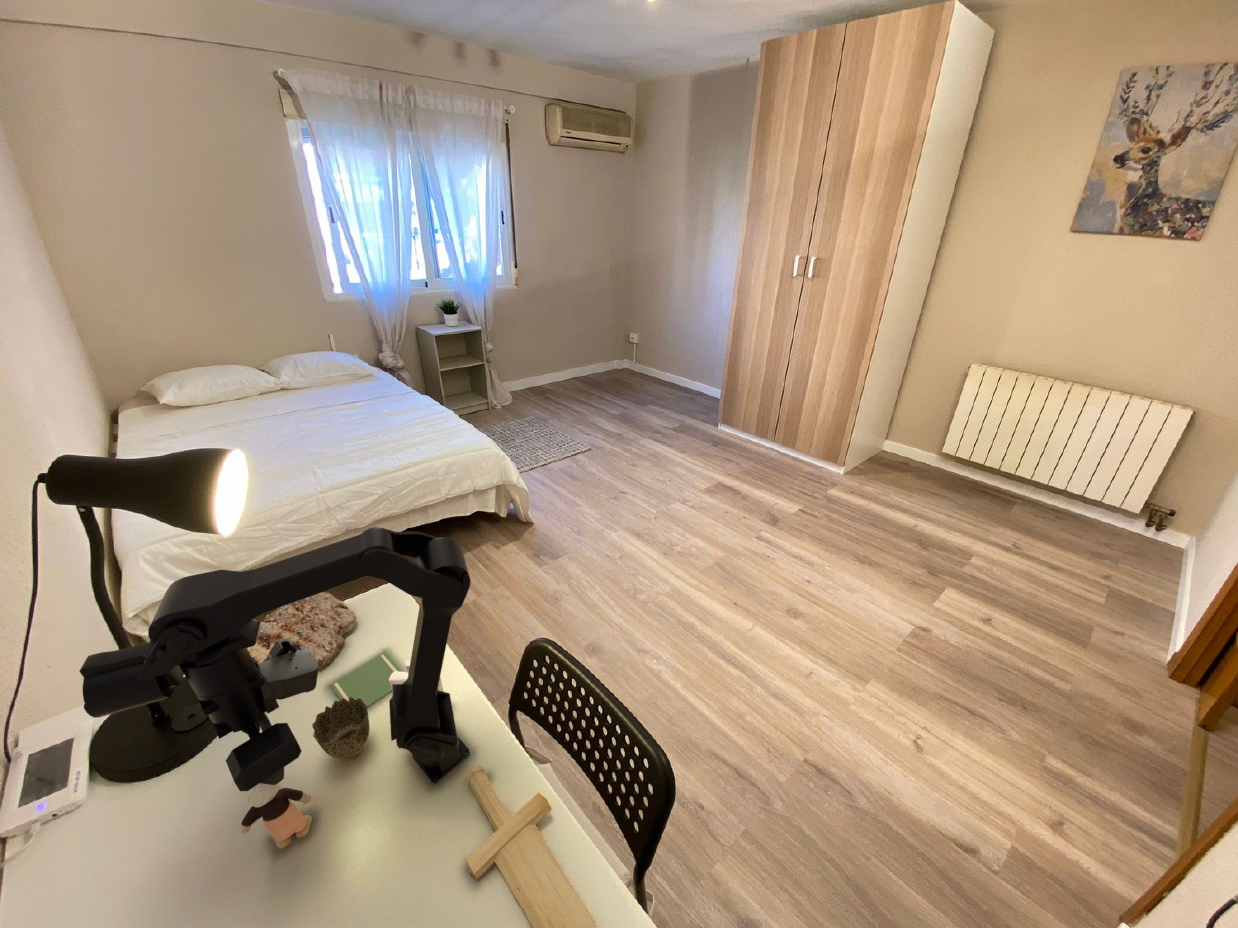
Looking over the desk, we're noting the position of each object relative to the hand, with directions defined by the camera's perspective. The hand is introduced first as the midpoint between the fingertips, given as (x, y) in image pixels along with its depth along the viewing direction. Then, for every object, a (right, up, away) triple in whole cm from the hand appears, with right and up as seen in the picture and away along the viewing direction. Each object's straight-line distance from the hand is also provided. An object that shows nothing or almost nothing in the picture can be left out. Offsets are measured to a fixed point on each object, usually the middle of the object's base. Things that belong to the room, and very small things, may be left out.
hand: (266, 755), depth 65 cm
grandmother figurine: (+1, -13, +4) cm, 14 cm away
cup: (+4, -7, +14) cm, 16 cm away
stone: (-21, +8, +31) cm, 38 cm away
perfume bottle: (+12, -4, +20) cm, 24 cm away
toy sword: (+24, -8, +10) cm, 27 cm away
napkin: (+1, -1, +25) cm, 25 cm away
